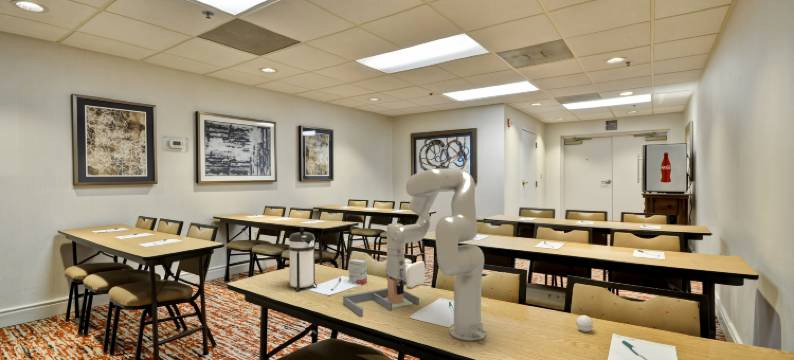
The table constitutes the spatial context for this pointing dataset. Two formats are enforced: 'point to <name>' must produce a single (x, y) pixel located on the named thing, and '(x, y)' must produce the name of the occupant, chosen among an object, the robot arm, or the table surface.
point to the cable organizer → (414, 273)
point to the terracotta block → (394, 292)
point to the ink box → (358, 271)
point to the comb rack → (377, 300)
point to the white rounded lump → (584, 323)
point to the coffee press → (302, 260)
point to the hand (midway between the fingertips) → (395, 291)
